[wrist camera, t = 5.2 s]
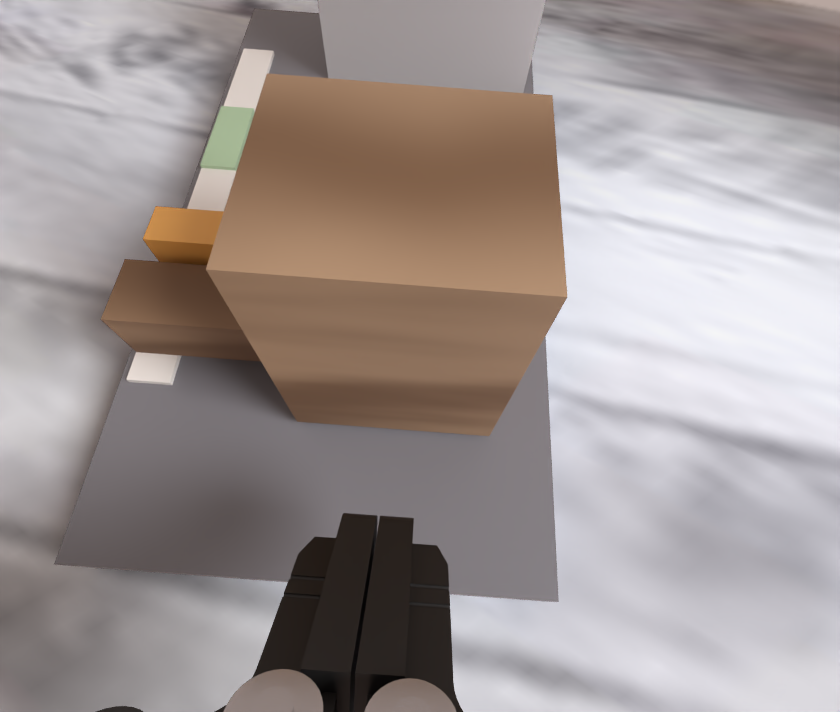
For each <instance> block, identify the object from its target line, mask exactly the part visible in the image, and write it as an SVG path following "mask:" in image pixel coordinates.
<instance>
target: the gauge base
mask: <svg viewBox="0 0 840 712" xmlns="http://www.w3.org/2000/svg"><path fill="white" fill-rule="evenodd" d="M317 1H318V8H319V14H318V13H305V12H292V11H279V10H266V9H254V11H253V14H252V17H251V20H250V22H249V25H248V28H247V31H246V33H245V36H244V39H243V42H242V45H241V47H240V50H239V53H238V56H237V58H236V61H235V64H234V67H233V70H232V72H231V75H230V78H229V81H228V83H227V86H226V89H225V92H224V95H223V97H222V100H221V103H220V106H219V108H218V111H217V114H216V117H215V119H214V122H213V125H212V128H211V131H210V133H209V136H208V139H207V142H206V144H205V147H204V150H203V153H202V156H201V158H200V161H199V164H198V167H197V169H196V172H195V175H194V178H193V181H192V183H191V186H190V189H189V192H188V194H187V197H186V200H185V203H184V205H183V208H185V209H198V210H211V211H224V209H225V206H226V203H227V200H228V197H229V193H230V190H231V187H232V184H233V181H234V177H235V174H236V171H237V168H238V165H239V161H240V158H241V155H242V152H243V149H244V145H245V142H246V139H247V136H248V132H249V129H250V126H251V123H252V120H253V116H254V113H255V110H256V107H257V104H258V100H259V97H260V94H261V91H262V88H263V84H264V81H265V78H266V75H267V73H268V74H281V75H294V76H307V77H319V78H332V79H345V80H358V81H371V82H384V83H397V84H410V85H423V86H436V87H449V88H462V89H475V90H488V91H501V92H514V93H527V94H533V76H532V55H533V51H534V47H535V43H536V39H537V35H538V30H539V26H540V22H541V18H542V14H543V10H544V6H545V2H546V0H317ZM343 513H352V514H365V515H377V516H378V524H377V531H378V525H379V519H380V515H381V516H394V517H408V518H414V525H413V543H412V544H426V545H437V546H438V548H439V549H440V551H441V553H442V555H443V556H444V558H445V560H446V562H447V563H448V573H449V594H454V595H467V596H480V597H494V598H507V599H520V600H534V601H551V602H558V582H557V562H556V541H555V521H554V501H553V481H552V460H551V440H550V420H549V400H548V379H547V359H546V339H545V338H544V339H543V341H542V343H541V345H540V347H539V348H538V350H537V352H536V354H535V355H534V357H533V359H532V361H531V363H530V364H529V366H528V368H527V370H526V372H525V373H524V375H523V377H522V379H521V380H520V382H519V384H518V386H517V388H516V389H515V391H514V393H513V395H512V397H511V398H510V400H509V402H508V404H507V405H506V407H505V409H504V411H503V413H502V414H501V416H500V418H499V420H498V422H497V423H496V425H495V427H494V429H493V430H492V432H491V434H490V436H480V435H467V434H454V433H441V432H427V431H414V430H401V429H388V428H375V427H361V426H348V425H335V424H322V423H308V422H297V421H296V419H295V417H294V416H293V414H292V412H291V411H290V409H289V407H288V406H287V404H286V402H285V401H284V399H283V397H282V396H281V394H280V392H279V391H278V389H277V387H276V386H275V384H274V382H273V381H272V379H271V377H270V376H269V374H268V372H267V371H266V369H265V367H264V366H263V364H262V362H259V361H246V360H233V359H220V358H206V357H193V356H180V355H167V354H154V353H141V352H136V351H135V350H134V349H132V350H131V352H130V355H129V358H128V361H127V364H126V366H125V369H124V372H123V375H122V377H121V380H120V383H119V386H118V389H117V391H116V394H115V397H114V400H113V402H112V405H111V408H110V411H109V414H108V416H107V419H106V422H105V425H104V427H103V430H102V433H101V436H100V438H99V441H98V444H97V447H96V450H95V452H94V455H93V458H92V461H91V463H90V466H89V469H88V472H87V475H86V477H85V480H84V483H83V486H82V488H81V491H80V494H79V497H78V500H77V502H76V505H75V508H74V511H73V513H72V516H71V519H70V522H69V524H68V527H67V530H66V533H65V536H64V538H63V541H62V544H61V547H60V549H59V552H58V555H57V558H56V561H55V563H54V564H58V565H70V566H81V567H93V568H106V569H119V570H133V571H146V572H159V573H173V574H186V575H199V576H213V577H226V578H240V579H253V580H266V581H280V582H288V581H289V579H290V577H291V572H292V570H293V567H294V564H295V561H296V559H297V556H298V553H299V552H300V551H301V550H302V549H303V548H304V547H305V546H306V545H307V544H308V543H309V542H310V541H311V540H312V539H313V538H314V537H329V538H336V536H337V533H338V529H339V525H340V522H341V518H342V515H343Z"/></svg>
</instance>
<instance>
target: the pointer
mask: <svg viewBox="0 0 840 712" xmlns="http://www.w3.org/2000/svg"><path fill="white" fill-rule="evenodd" d="M223 213H224V211H211V210H198V209H185V208H172V207H159V206H156V207H155V209H154V212H153V214H152V217H151V220H150V222H149V225H148V227H147V230H146V232H145V235H144V237H143V240H144V242H145V243H146V244H147V246H148V247H149V248H150V250H151V251H152V253H153V254H154V255H155V257H156V258H157V259H158V261H159V262H169V263H182V264H195V265H207V264H208V261H209V258H210V254H211V251H212V248H213V245H214V242H215V238H216V235H217V232H218V229H219V225H220V222H221V219H222V216H223Z"/></svg>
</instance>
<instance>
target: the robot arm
mask: <svg viewBox="0 0 840 712" xmlns="http://www.w3.org/2000/svg"><path fill="white" fill-rule="evenodd" d="M377 524H378V516H377V515H365V514H352V513H343V515H342V518H341V522H340V525H339V529H338V533H337V536H336V538H329V537H314V538H313V539H312V540H311V541H310V542H309V543H308V544H307V545H306V546H305V547H304V548H303V549H302V550H301V551H300V552H299V553H298V556H297V559H296V561H295V564H294V567H293V570H292V572H291V577H290V579H289V581H288V583H287V586H286V589H285V592H284V597H282V600H281V603H280V606H279V608H278V611H277V614H276V617H275V619H274V622H273V625H272V628H271V630H270V633H269V636H268V639H267V642H266V644H265V647H264V650H263V653H262V655H261V658H260V661H259V664H258V666H257V669H256V671H255V673H254V676H253V677H252V679H250V680H249V681H247V682H246V683H245V684H243V685H242V686H241V687H240V688H239V689H238V690H237V691H236V692H235V694H234V695H233V696H232V697H231V699H230V700H229V702H228V704H227V705H225V706H224V707H222V708H221V709H219V710H217V711H215V712H463V710H462V709H461V707H460V705H459V703H458V701H457V698H456V695H455V691H454V684H453V665H452V642H451V619H450V596H449V573H448V563H447V562H446V560H445V558H444V556H443V555H442V553H441V551H440V549H439V548H438V546H437V545H426V544H412V543H413V525H414V518H408V517H394V516H381V515H380V519H379V525H378V531H377ZM97 712H143V711H141V710H139V709H137V708H134V707H127V706H119V707H111V708H106V709H103V710H100V711H97Z"/></svg>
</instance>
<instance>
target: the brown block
mask: <svg viewBox="0 0 840 712" xmlns="http://www.w3.org/2000/svg"><path fill="white" fill-rule="evenodd" d="M566 298H567V287H566V273H565V260H564V246H563V233H562V220H561V206H560V193H559V179H558V166H557V152H556V139H555V125H554V112H553V98H552V95H540V94H527V93H514V92H501V91H488V90H475V89H462V88H449V87H436V86H423V85H410V84H397V83H384V82H371V81H358V80H345V79H332V78H319V77H307V76H294V75H281V74H268V73H267V75H266V78H265V81H264V84H263V88H262V91H261V94H260V97H259V100H258V104H257V107H256V110H255V113H254V116H253V120H252V123H251V126H250V129H249V132H248V136H247V139H246V142H245V145H244V149H243V152H242V155H241V158H240V161H239V165H238V168H237V171H236V174H235V177H234V181H233V184H232V187H231V190H230V193H229V197H228V200H227V203H226V206H225V209H224V213H223V216H222V219H221V222H220V225H219V229H218V232H217V235H216V238H215V242H214V245H213V248H212V251H211V254H210V258H209V261H208V264H207V265H195V264H182V263H169V262H156V261H142V260H129V259H125V260H124V263H123V265H122V268H121V270H120V273H119V275H118V278H117V280H116V283H115V285H114V288H113V290H112V293H111V295H110V298H109V300H108V303H107V305H106V308H105V310H104V313H103V315H102V318H101V320H102V321H103V322H104V323H105V324H106V325H107V326H108V327H110V328H111V329H112V330H113V331H114V332H115V333H116V334H117V335H118V336H119V337H120V338H122V339H123V340H124V341H125V342H126V343H127V344H128V345H129V346H130V347H131V348H132V349H134V350H135V351H136V352H141V353H154V354H167V355H180V356H193V357H206V358H220V359H233V360H246V361H259V362H262V364H263V366H264V367H265V369H266V371H267V372H268V374H269V376H270V377H271V379H272V381H273V382H274V384H275V386H276V387H277V389H278V391H279V392H280V394H281V396H282V397H283V399H284V401H285V402H286V404H287V406H288V407H289V409H290V411H291V412H292V414H293V416H294V417H295V419H296V421H297V422H308V423H322V424H335V425H348V426H361V427H375V428H388V429H401V430H414V431H427V432H441V433H454V434H467V435H480V436H490V434H491V432H492V430H493V429H494V427H495V425H496V423H497V422H498V420H499V418H500V416H501V414H502V413H503V411H504V409H505V407H506V405H507V404H508V402H509V400H510V398H511V397H512V395H513V393H514V391H515V389H516V388H517V386H518V384H519V382H520V380H521V379H522V377H523V375H524V373H525V372H526V370H527V368H528V366H529V364H530V363H531V361H532V359H533V357H534V355H535V354H536V352H537V350H538V348H539V347H540V345H541V343H542V341H543V339H544V338H545V336H546V334H547V332H548V330H549V329H550V327H551V325H552V323H553V322H554V320H555V318H556V316H557V314H558V313H559V311H560V309H561V307H562V305H563V304H564V302H565V300H566Z"/></svg>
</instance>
